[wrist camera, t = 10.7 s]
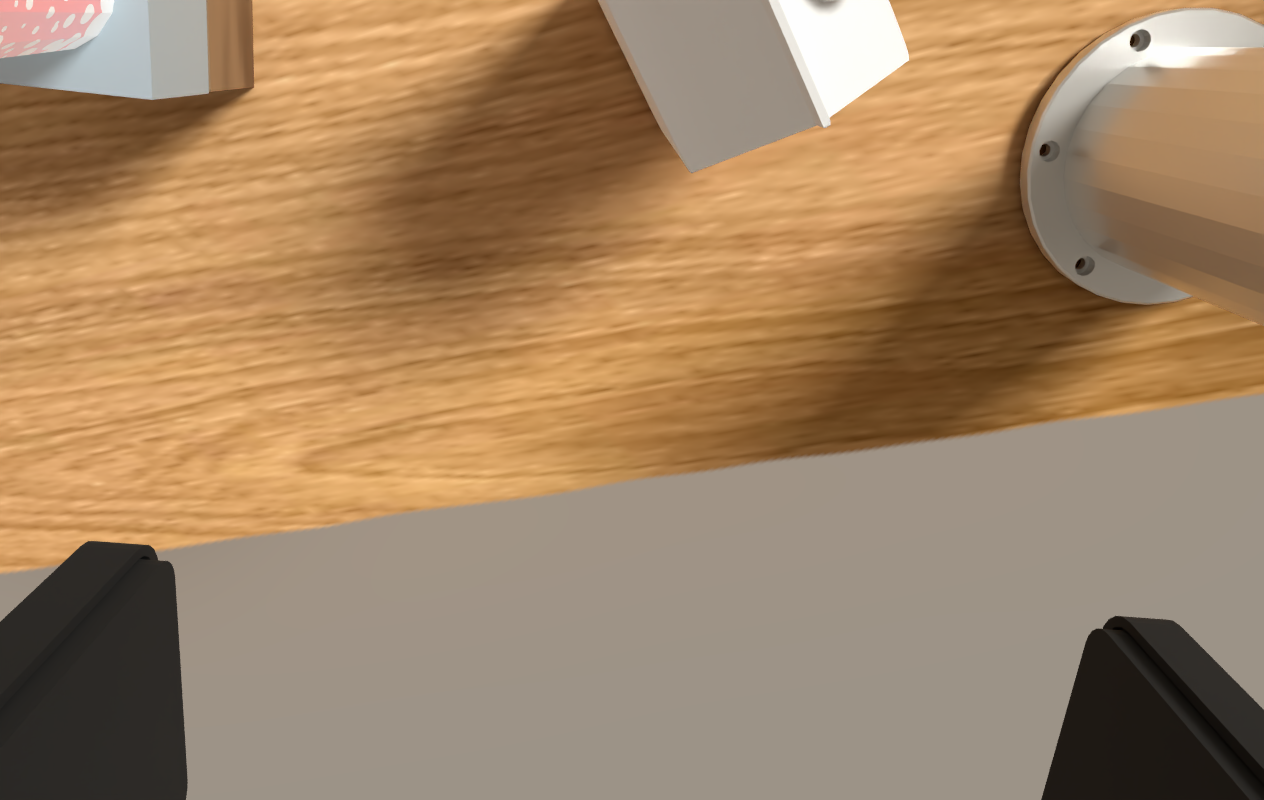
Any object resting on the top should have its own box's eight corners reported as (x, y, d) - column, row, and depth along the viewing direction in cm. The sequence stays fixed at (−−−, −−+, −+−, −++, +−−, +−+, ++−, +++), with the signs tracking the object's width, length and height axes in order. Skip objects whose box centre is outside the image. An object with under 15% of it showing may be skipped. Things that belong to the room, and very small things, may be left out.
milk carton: (662, 134, 44) (701, 192, 26) (585, -24, 41) (569, -80, 23) (811, 55, 43) (959, 58, 25) (741, -111, 40) (847, -239, 23)
